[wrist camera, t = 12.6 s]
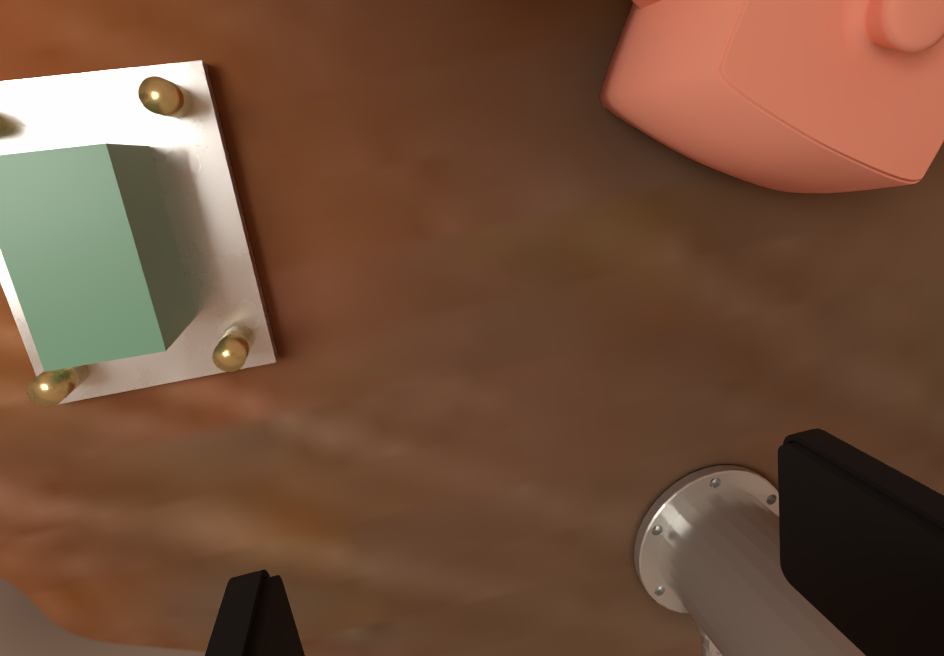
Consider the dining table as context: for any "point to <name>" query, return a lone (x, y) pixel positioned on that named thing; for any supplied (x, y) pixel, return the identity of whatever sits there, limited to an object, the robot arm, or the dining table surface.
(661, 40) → the teapot
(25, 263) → the block
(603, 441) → the dining table surface
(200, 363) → the chassis plate
